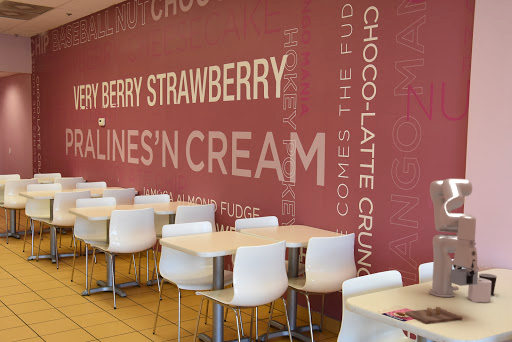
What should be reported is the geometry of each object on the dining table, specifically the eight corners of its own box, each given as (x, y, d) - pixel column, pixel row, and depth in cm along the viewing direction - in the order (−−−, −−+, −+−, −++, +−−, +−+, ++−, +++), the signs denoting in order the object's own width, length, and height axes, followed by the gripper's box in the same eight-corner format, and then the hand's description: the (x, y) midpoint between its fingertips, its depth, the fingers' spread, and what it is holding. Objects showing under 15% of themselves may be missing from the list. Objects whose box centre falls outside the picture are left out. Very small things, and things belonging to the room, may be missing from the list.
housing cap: (467, 281, 244) (467, 268, 244) (477, 284, 239) (477, 271, 239) (450, 282, 240) (451, 269, 240) (460, 285, 235) (461, 272, 235)
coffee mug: (496, 297, 274) (497, 278, 274) (478, 295, 277) (479, 276, 276) (494, 291, 285) (495, 273, 285) (477, 289, 288) (477, 271, 287)
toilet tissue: (487, 297, 272) (488, 278, 272) (493, 304, 260) (494, 284, 260) (466, 295, 274) (467, 276, 274) (470, 302, 263) (471, 282, 262)
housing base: (440, 310, 247) (440, 301, 246) (462, 319, 234) (462, 310, 233) (405, 314, 239) (405, 305, 239) (425, 324, 226) (426, 314, 226)
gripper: (487, 245, 233) (485, 286, 233) (458, 239, 248) (456, 277, 249) (474, 246, 230) (472, 287, 230) (445, 239, 245) (443, 278, 246)
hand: (463, 281), depth 240 cm, fingers closed on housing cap, 6 cm apart
